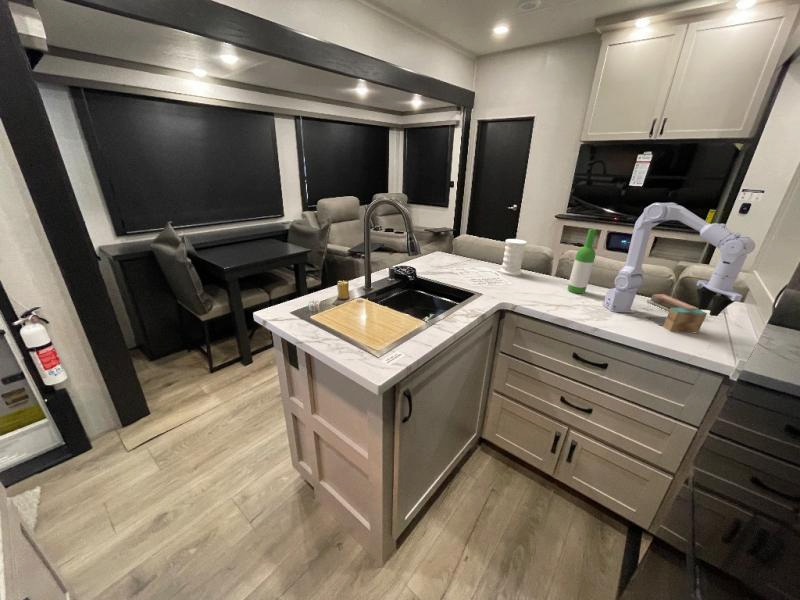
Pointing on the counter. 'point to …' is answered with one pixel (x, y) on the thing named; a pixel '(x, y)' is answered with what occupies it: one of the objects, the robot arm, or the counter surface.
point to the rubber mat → (657, 320)
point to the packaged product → (668, 302)
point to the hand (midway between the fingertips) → (707, 312)
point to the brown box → (684, 320)
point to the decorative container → (513, 257)
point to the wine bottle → (582, 265)
